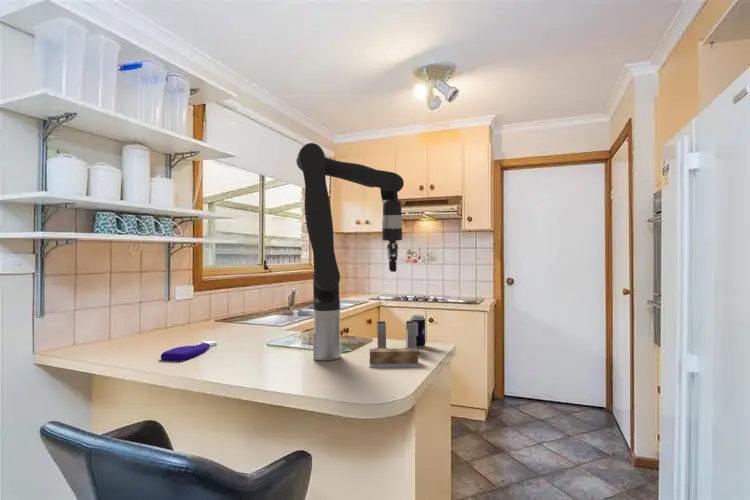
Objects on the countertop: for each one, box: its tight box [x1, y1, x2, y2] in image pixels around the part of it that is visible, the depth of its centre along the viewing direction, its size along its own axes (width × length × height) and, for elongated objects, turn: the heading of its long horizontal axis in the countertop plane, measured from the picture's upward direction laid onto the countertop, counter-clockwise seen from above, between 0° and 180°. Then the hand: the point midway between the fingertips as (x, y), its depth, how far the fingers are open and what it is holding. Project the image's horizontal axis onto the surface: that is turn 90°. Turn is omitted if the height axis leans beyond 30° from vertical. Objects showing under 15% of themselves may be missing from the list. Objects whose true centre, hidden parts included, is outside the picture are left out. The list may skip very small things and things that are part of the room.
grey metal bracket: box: [374, 320, 389, 349], centre depth 150 cm, size 5×8×11 cm, turn 1°
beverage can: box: [410, 314, 426, 349], centre depth 158 cm, size 6×6×12 cm
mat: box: [369, 362, 420, 369], centre depth 135 cm, size 16×8×1 cm, turn 91°
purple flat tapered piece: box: [160, 340, 218, 362], centre depth 153 cm, size 3×11×24 cm
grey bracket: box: [405, 320, 420, 356], centre depth 150 cm, size 5×8×11 cm, turn 1°
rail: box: [369, 347, 419, 365], centre depth 135 cm, size 16×4×4 cm, turn 91°
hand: (392, 270), depth 152 cm, fingers open, 8 cm apart
